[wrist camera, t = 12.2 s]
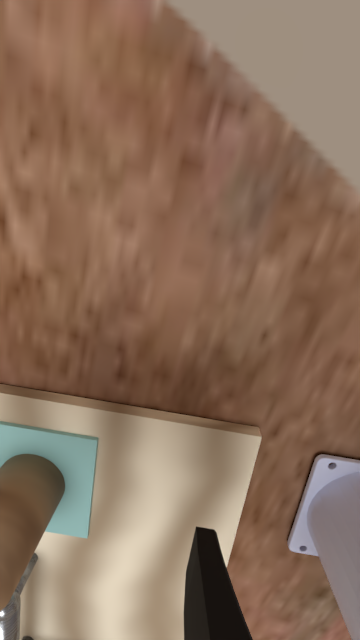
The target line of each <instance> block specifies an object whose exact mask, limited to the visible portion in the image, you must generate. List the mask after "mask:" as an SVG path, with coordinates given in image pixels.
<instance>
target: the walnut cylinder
mask: <svg viewBox="0 0 360 640" xmlns="http://www.w3.org/2000/svg"><path fill="white" fill-rule="evenodd" d="M64 491H65V480H64V477H63V475H62V473H61V471H60V470H59V469H58V468H57V466H56V465H55V464H53V463H52V462H51V461H49V460H48V459H46V458H44V457H42V456H38V455H34V454H20V455H16V456H14V457H11V458H10V459H8V460H7V461H6V462H5V463H4V464H3V465H2V466H1V468H0V611H1V610H2V609H3V608H5V607H6V605H7V604H8V603H9V601H10V599H11V597H12V595H13V593H14V591H15V589H16V587H17V585H18V583H19V581H20V579H21V577H22V575H23V573H24V571H25V569H26V567H27V565H28V563H29V561H30V560H31V558H32V556H33V554H34V552H35V550H36V548H37V546H38V544H39V542H40V540H41V538H42V536H43V534H44V532H45V530H46V528H47V526H48V524H49V522H50V520H51V518H52V516H53V514H54V512H55V510H56V508H57V506H58V504H59V502H60V501H61V499H62V497H63V495H64Z"/></svg>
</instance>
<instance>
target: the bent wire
mask: <svg viewBox="0 0 360 640" xmlns="http://www.w3.org/2000/svg"><path fill="white" fill-rule="evenodd" d="M37 560H38V555H37V554H36V553H34V554H33V556H32V558H31V560H30V561H29V563H28V565H27V567H26V569H25V571H24V573H23V575H22V577H21V579H20V581H19V583H18V585H17V587H16V589H15V591H14V593H13V595H12V597H11V599H10V601H9V603H8V604H7V605H6V607H5V608H3V609H2V610H1V611H0V640H20V606H21V598H20V595H21V593H22V591H23V588H24V586H25V584H26V582H27V580H28V578H29V576H30V574H31V572H32V570H33V568H34V566H35V564H36V562H37ZM22 640H34V639H33V638H32V637H30V636H24V637H23V638H22Z"/></svg>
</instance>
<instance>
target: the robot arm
mask: <svg viewBox="0 0 360 640" xmlns="http://www.w3.org/2000/svg"><path fill="white" fill-rule="evenodd" d="M330 463H333V464H331V465H329V464H330ZM288 547H289V549H290V550H291V551H293V552H297V553H302V554H308V555H314V556H319V558H320V561H321V563H322V566H323V568H324V571H325V573H326V576H327V578H328V581H329V584H330V586H331V589H332V591H333V594H334V596H335V599H336V601H337V604H338V606H339V609H340V611H341V614H342V616H343V619H344V621H345V624H346V626H347V629H348V632H349V634H350V637H351V639H352V640H360V460H355V459H349V458H343V457H337V456H331V455H325V454H321V455H318V456H317V457H316V458H315V460H314V463H313V466H312V469H311V472H310V475H309V478H308V481H307V484H306V487H305V490H304V493H303V496H302V499H301V502H300V505H299V509H298V512H297V515H296V518H295V521H294V524H293V527H292V530H291V533H290V536H289V539H288ZM184 640H253V639H252V637H251V634H250V632H249V629H248V627H247V624H246V622H245V619H244V617H243V614H242V611H241V608H240V606H239V603H238V600H237V598H236V595H235V592H234V589H233V586H232V583H231V580H230V577H229V574H228V571H227V568H226V565H225V562H224V558H223V555H222V552H221V548H220V544H219V541H218V537H217V533H216V531H215V530H214V529H208V528H203V527H197V526H196V529H195V533H194V538H193V542H192V547H191V551H190V556H189V560H188V565H187V569H186V579H185V596H184Z"/></svg>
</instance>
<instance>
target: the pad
mask: <svg viewBox="0 0 360 640" xmlns="http://www.w3.org/2000/svg"><path fill="white" fill-rule="evenodd" d="M98 440H99V438H98V437H92V436H86V435H80V434H74V433H68V432H62V431H57V430H51V429H45V428H39V427H33V426H27V425H21V424H15V423H9V422H3V421H0V468H1V466H2V465H3V464H4V463H5V462H6V461H7V460H8V459H10V458H11V457H14V456H16V455H20V454H34V455H38V456H42V457H44V458H46V459H48V460H49V461H51V462H52V463H53V464H55V465H56V466H57V468H58V469H59V470H60V471H61V473H62V475H63V477H64V480H65V491H64V495H63V497H62V499H61V501H60V502H59V504H58V506H57V508H56V510H55V512H54V514H53V516H52V518H51V520H50V522H49V524H48V526H47V528H46V530H45V532H51V533H57V534H63V535H69V536H75V537H81V538H88V535H89V527H90V517H91V507H92V498H93V488H94V478H95V469H96V459H97V449H98Z"/></svg>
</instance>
